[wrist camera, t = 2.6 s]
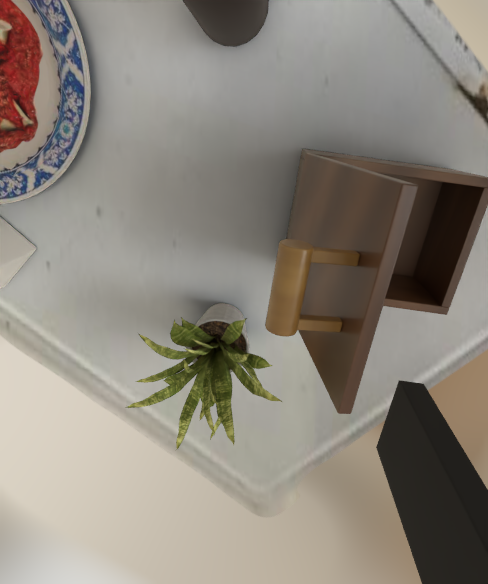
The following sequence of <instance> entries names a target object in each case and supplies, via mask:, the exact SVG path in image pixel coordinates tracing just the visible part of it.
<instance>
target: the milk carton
mask: <svg viewBox="0 0 488 584" xmlns="http://www.w3.org/2000/svg"><path fill="white" fill-rule="evenodd" d="M35 250H36V247H35V246H34V245H33V244H32V243H31V242H29V241H28V240H27V239H26V238H25V237H24V236H22V235H21V234H20V233H19V232H18V231H17V230H15V229H14V228H13V227H12V226H11V225H10V224H8V223H7V222H6V221H5V220H4V219H3V218H1V217H0V289H1V288H3V287H5V286H6V285H7V284H8V283H9V282H10V280H11V279H12V278H13V277H14V275H15V274H16V273H17V272H18V271H19V269H20V268H21V267H22V266H23V265H24V263H25V262H26V261H27V260H28V259H29V257H30V256H31V255H32V254H33V253H34V251H35Z"/></svg>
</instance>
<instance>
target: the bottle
mask: <svg viewBox="0 0 488 584" xmlns="http://www.w3.org/2000/svg"><path fill="white" fill-rule="evenodd" d="M183 2H184V3H185V4H186V6H187V7H188V9H189V10H190V12H191V13H192V15H193V16H194V17H195V19H196V20H197V22H198V23H199V25H200V26H201V28H202V29H203V30H204V32H205V33H206V34H207V35H208V36H209V37H210V38H211V39H212V40H213V41H215V42H217V43H220V44H222V45H224V46H238V45H241V44H244V43H247V42H248V41H250V40H251V39H252V38H253V37H255V36H256V35H257V33H258V32H259V31H260V29H261V28H262V26H263V25H264V22H265V19H266V16H267V13H268V2H269V0H183Z"/></svg>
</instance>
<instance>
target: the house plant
mask: <svg viewBox="0 0 488 584" xmlns="http://www.w3.org/2000/svg"><path fill="white" fill-rule="evenodd" d="M181 318H182V317H181ZM245 320H246V319H244V317H243V315H242V313H241V311H240V310H239V309H238V308H236V307H234V306H232V305H229V304H225V303H219V304H215V305H213V306H211V307H210V308H209V309H208V310H207V311H206V312H205V314H204V315H203V316H202V317H201V318H200V320H199V321H198V322H197V323H196V325H194V324H191V323H188V322H187V321H185V320H183V318H182V326H179V325H178V324H176V323H175V320H174V324H173V327H172V330H171V333H170V334H171V339H172V341H173V342H174V343H176V344H178V345H181V346H185V347H186V348H187V349H185V350H187V352H184V351H176V350H173V349H170V348H167V347H163V346H160V345H158V344H155V343H154V342H153V341H151V340H150V339H148V338H147V337H144V336H142V335H140V334H139V333H138V334H139V335H140V337H141V338H142V339H143V340H144V341H145V342H146V344H147V345H148V346H149V347H150V348H152V349H153V350H154V351H155V352H157V353H158V354H160V355H162V356H164V357H167V358H170V359H182V358H186V357H187V358H186V359H183V361H182V362H180V363H179V364H177V365H175V366H174V367H172V368H169V369H167V370H165V371H163V372H161V373H158V374H156V375H153V376H150V377H148V378H147V379H141V380H139V381H136V382H154V381H158V380H161V379H163V378H166V377H167V378H166V379H165V380H164V381H165V382H166V383H168V384H169V385H170V386H168V387H166V388H165V389H163V390H161V391H159V392H157V393H155V394H153V395H151V396H150V397H148V398H147V399H145V400H143V401H140V402H137V403H133V404H131V405H130V406H128V407H127V408H132V407H143V406H148V405H152V404H155V403H158V402H160V401H163V400H165V399H167V398H169V397H171V396H173V395H174V394H176V393H177V392H179V391H180V390H181V389H182V388H183V387H184V386H185V385H186V384H187V383H188V382H189V381H190V380H191V379H192V378H193V377H194V376H195V375H196V374H197V373H198V374H197V376H196V379H195V382H194V385H193V387H192V389H191V391H190V393H189V396H188V398H187V400H186V403H185V405H184V407H183V410H182V413H181V416H180V422H179V433H178V437H177V442H176V444H177V449H178V448H179V446H180V444H181V442H182V441H183V439H184V436H185V434H186V432H187V429H188V426H189V424H190V421H191V418H192V415H193V413H194V410H195V408H196V406H197V404H198V402H199V399H200V398H201V401H202V410H201V413H200V420H201V419H202V417H203V416H204V414H205V417H206V419H207V422H208V424H209V427H210V428H211V429H212V434H211V438H212V436H213V435H215V431H216V430H217V428H218V426H219V425H220V423H221V422H222V424H223V426H224V428H225V431H226V434H227V436H228V438H229V439H230V440H231V441H232V442H233V446H234V428H233V418H232V410H231V396H232V379H231V374H230V372H234V373H235V375H236V376H237V378H238V379H239V380H240V382H241V383H242V384H243V385H244V386H245V387H246V388H247V389H248V390H249V391H250V392H251V393H253V394H255V395H258V396H261V397H264V398H266V399H268V400H271V401H281V400H279V399H278V398H276V397H275V396H273V395H272V394H270V393H269V392H268V391H266V390H265V389H263V387H262V385H261V383H260V382H259V380H258V379H257V377H256V374H255V371H254V369H253V368H257V369H260V368H265V367H269V366H273V365H269V363H268V362H267V361H266V360H265V359H263V358H261V357H259V356H256V355H253V354H250V353H249V348H250V346H249V341H248V336H247V331H246V327H245ZM191 362H193V364H192V365H191V366H188V364H190V363H191ZM241 366H243V367H244V368H245V369H246V370H247V372H248V373H249V375H250V376H251V377H252V378H251V377H250V376H249V375H248V374H247V373H246V372H245V371H244V370H243V368H242V367H241ZM252 367H253V368H252ZM184 368H185V370H183V369H184ZM182 370H183V371H182ZM180 371H182V372H180ZM178 372H180V373H178ZM176 373H177V374H176ZM174 374H175V375H174ZM171 375H172V376H171ZM281 402H282V401H281ZM214 403H216V407H217V414H218V417H219V418H218V420H217V422H216V424H215V426H214V427H213V422H212V418H211V414H210V407H211V406H213V405H214ZM200 420H199V421H200ZM211 438H210V440H211ZM177 449H176V450H177Z"/></svg>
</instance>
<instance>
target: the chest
mask: <svg viewBox="0 0 488 584" xmlns="http://www.w3.org/2000/svg"><path fill="white" fill-rule="evenodd" d="M306 153H310V154H316V155H319V156H323V157H326V158H329V159H333V160H336V161H339V162H343V163H346V164H349V165H353V166H356V167H359V168H363V169H366V170H369V171H373V172H376V173H379V174H383V175H386V176H389V177H393V178H396V179H399V180H403V181H406V182H409V183H413V184H416V185H418V189H417V193H416V196H415V199H414V203H413V206H412V209H411V213H410V216H409V220H408V223H407V226H406V230H405V233H404V236H403V240H402V243H401V247H400V250H399V253H398V257H397V260H396V263H395V267H394V270H393V273H392V277H391V280H390V284H389V287H388V290H387V294H386V297H385V300H384V304H383V306H389V307H396V308H403V309H410V310H417V311H424V312H431V313H438V314H445V315H447V312H448V310H449V307H450V305H451V302H452V299H453V297H454V294H455V291H456V289H457V286H458V283H459V281H460V278H461V275H462V273H463V270H464V267H465V265H466V262H467V259H468V256H469V254H470V251H471V248H472V246H473V243H474V240H475V238H476V235H477V232H478V230H479V227H480V224H481V222H482V219H483V216H484V214H485V211H486V208H487V205H488V177H484V176H480V175H475V174H471V173H466V172H462V171H457V170H453V169H446V168H439V167H432V166H425V165H418V164H411V163H403V162H396V161H389V160H382V159H375V158H368V157H360V156H353V155H346V154H339V153H332V152H325V151H317V150H310V149H302V152H301V158H300V164H299V169H298V175H297V181H296V186H295V192H294V198H293V203H292V209H291V215H290V221H289V226H288V232H287V238H286V239H291V233H292V228H293V222H294V217H295V211H296V206H297V200H298V194H299V189H300V183H301V178H302V172H303V167H304V161H305V156H306Z"/></svg>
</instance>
